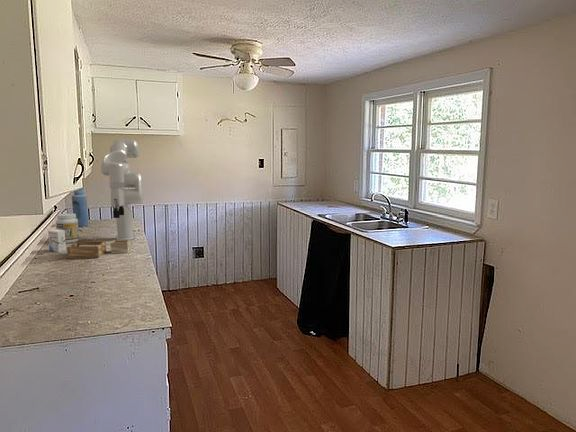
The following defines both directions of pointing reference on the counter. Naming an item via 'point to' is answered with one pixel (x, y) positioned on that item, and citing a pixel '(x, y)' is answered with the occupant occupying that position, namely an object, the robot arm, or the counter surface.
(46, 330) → the counter surface
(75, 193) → the bottle
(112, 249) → the small crate
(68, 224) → the supplement tub
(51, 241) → the ink box
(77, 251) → the crate
